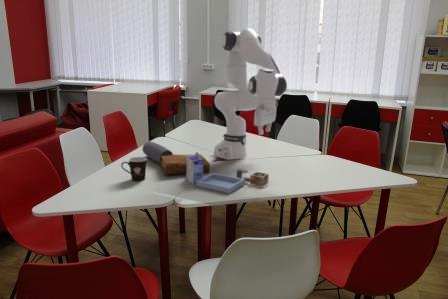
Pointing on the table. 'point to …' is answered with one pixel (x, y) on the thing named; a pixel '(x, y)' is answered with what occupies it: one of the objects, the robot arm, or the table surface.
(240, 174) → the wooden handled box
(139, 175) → the coffee mug
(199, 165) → the ink cartridge box
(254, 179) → the wooden mooncake mold
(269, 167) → the table surface
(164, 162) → the diary
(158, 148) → the bluetooth speaker
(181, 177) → the table surface
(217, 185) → the tray
